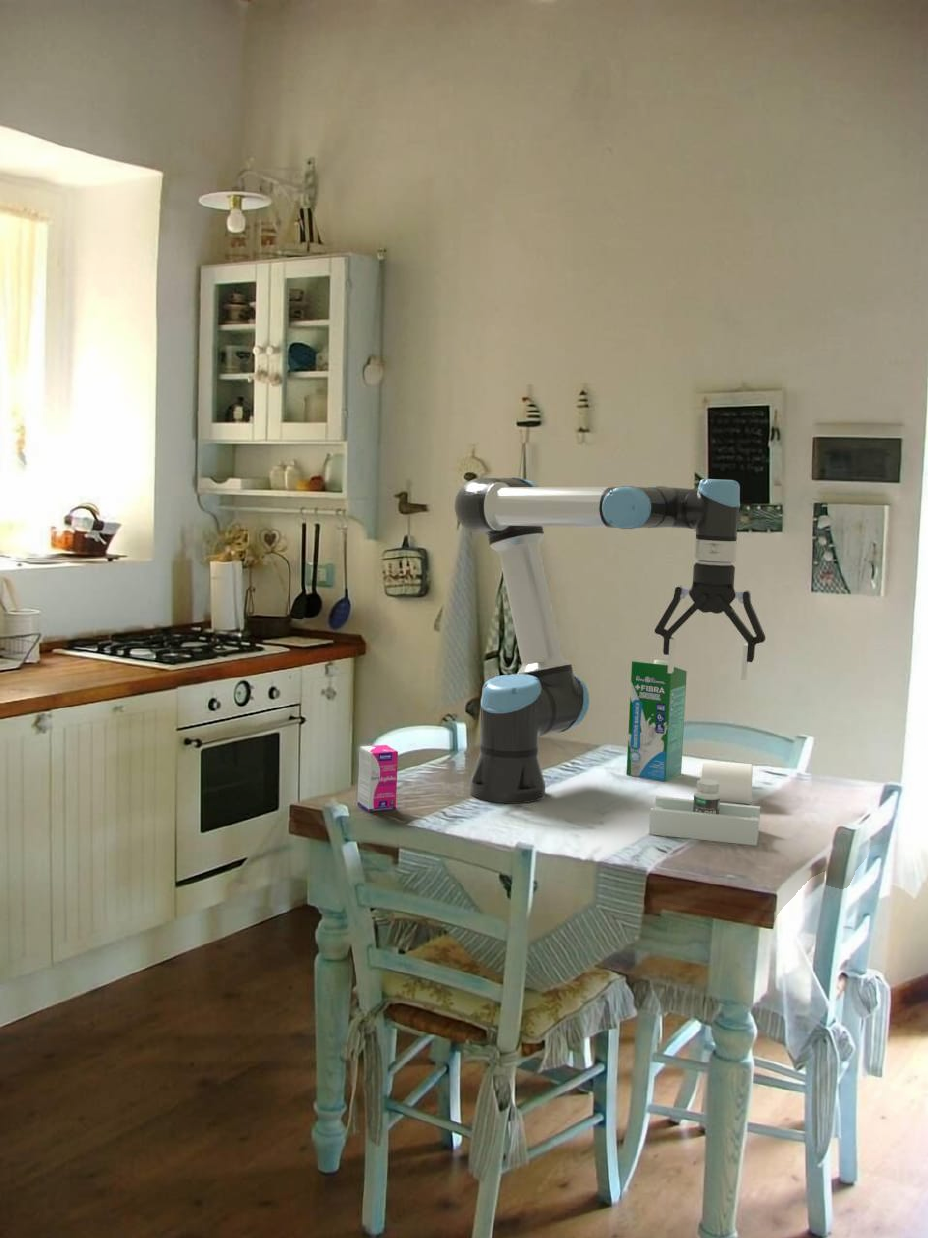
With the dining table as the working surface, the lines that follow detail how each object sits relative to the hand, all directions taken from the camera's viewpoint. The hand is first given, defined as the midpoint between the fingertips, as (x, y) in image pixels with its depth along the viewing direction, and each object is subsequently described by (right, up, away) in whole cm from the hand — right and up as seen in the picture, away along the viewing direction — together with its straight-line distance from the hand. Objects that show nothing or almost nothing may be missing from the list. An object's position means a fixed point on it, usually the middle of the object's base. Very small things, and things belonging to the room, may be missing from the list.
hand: (706, 675), depth 232 cm
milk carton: (-4, -23, +36) cm, 43 cm away
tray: (-2, -28, -6) cm, 29 cm away
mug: (+7, -26, +18) cm, 32 cm away
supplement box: (-62, -25, +3) cm, 67 cm away
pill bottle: (-2, -27, -6) cm, 28 cm away
